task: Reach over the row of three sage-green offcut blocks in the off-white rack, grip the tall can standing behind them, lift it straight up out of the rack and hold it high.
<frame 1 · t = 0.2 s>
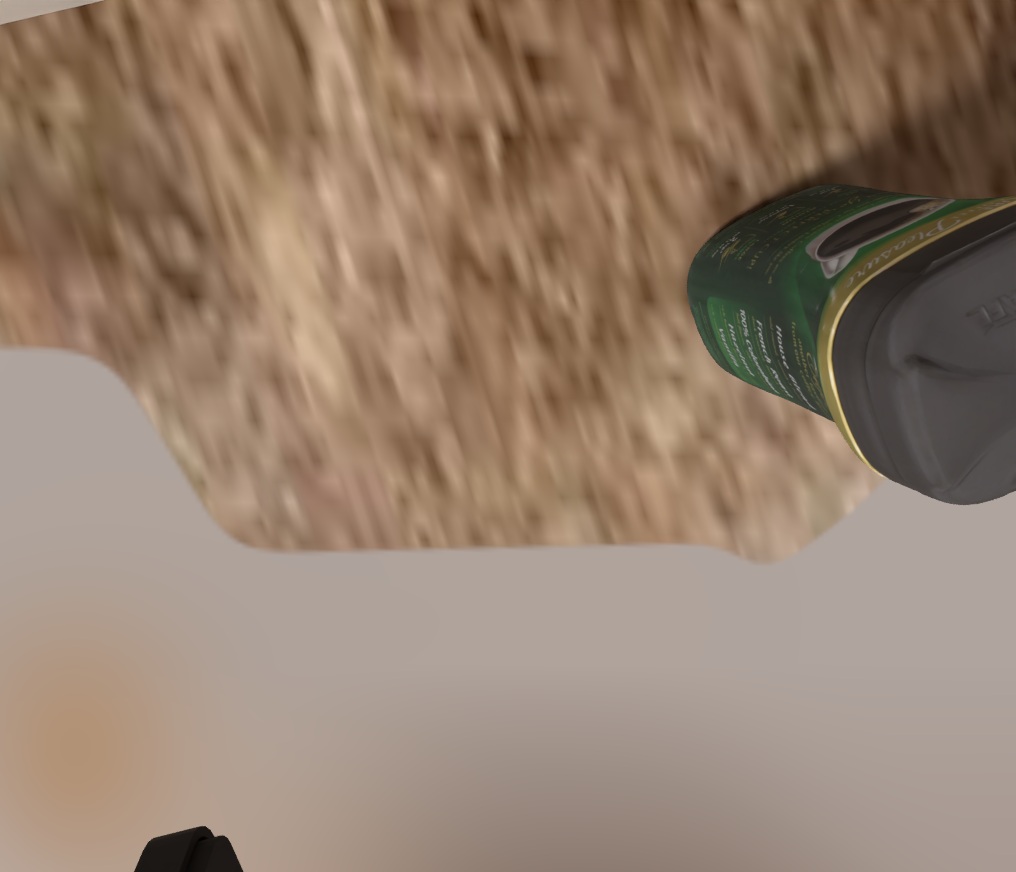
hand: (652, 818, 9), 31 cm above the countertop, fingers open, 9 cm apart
coffee jar: (781, 281, 39), on the countertop
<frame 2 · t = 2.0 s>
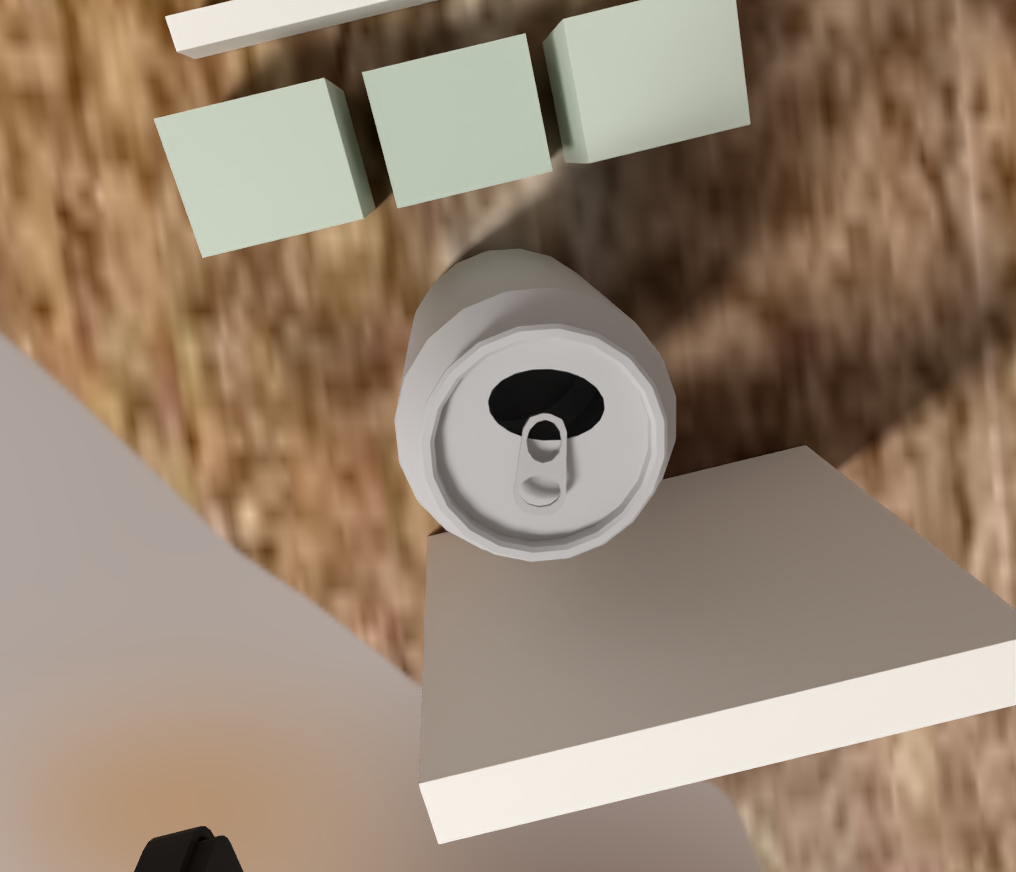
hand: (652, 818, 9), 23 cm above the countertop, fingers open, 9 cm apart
offcut 1: (623, 87, 28), on the countertop
offcut mid: (457, 127, 29), on the countertop
can: (507, 344, 31), on the countertop
rack: (507, 345, 31), on the countertop
offcut 2: (291, 168, 28), on the countertop
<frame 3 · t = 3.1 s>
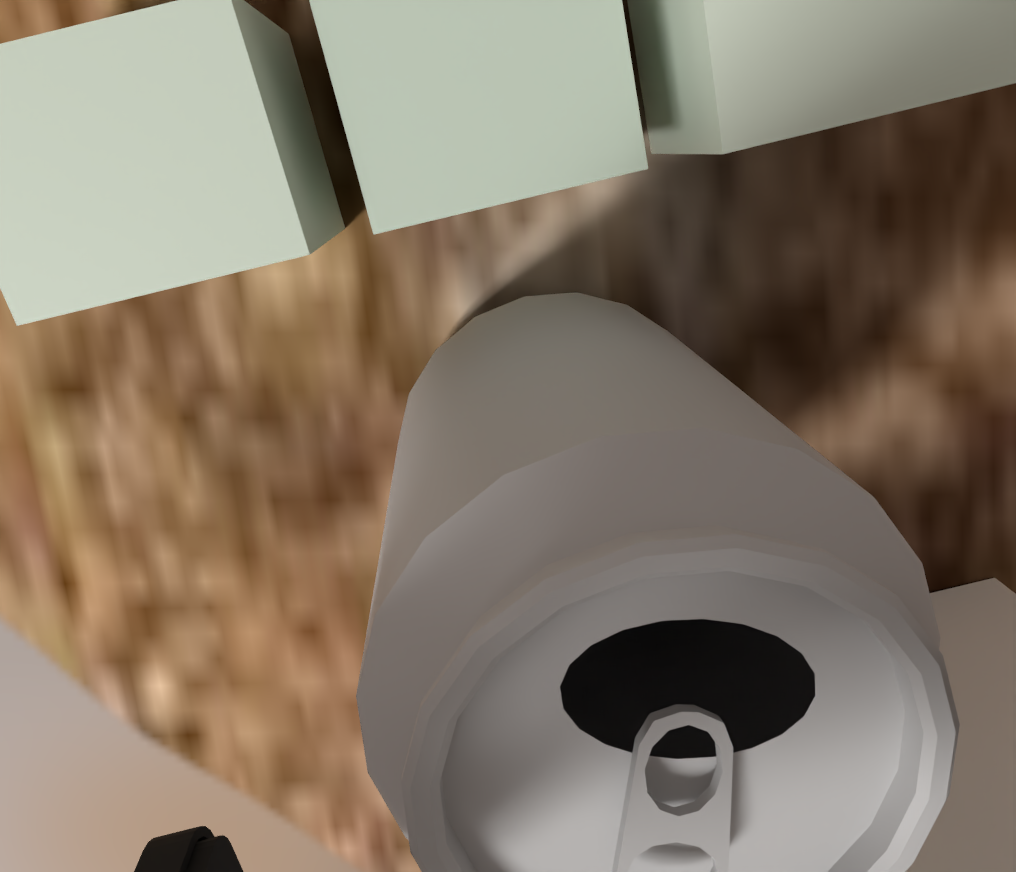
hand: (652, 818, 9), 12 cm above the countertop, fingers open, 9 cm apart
offcut 1: (749, 29, 17), on the countertop
offcut mid: (476, 96, 17), on the countertop
can: (552, 435, 20), on the countertop
rack: (553, 438, 20), on the countertop
offcut 2: (205, 162, 17), on the countertop
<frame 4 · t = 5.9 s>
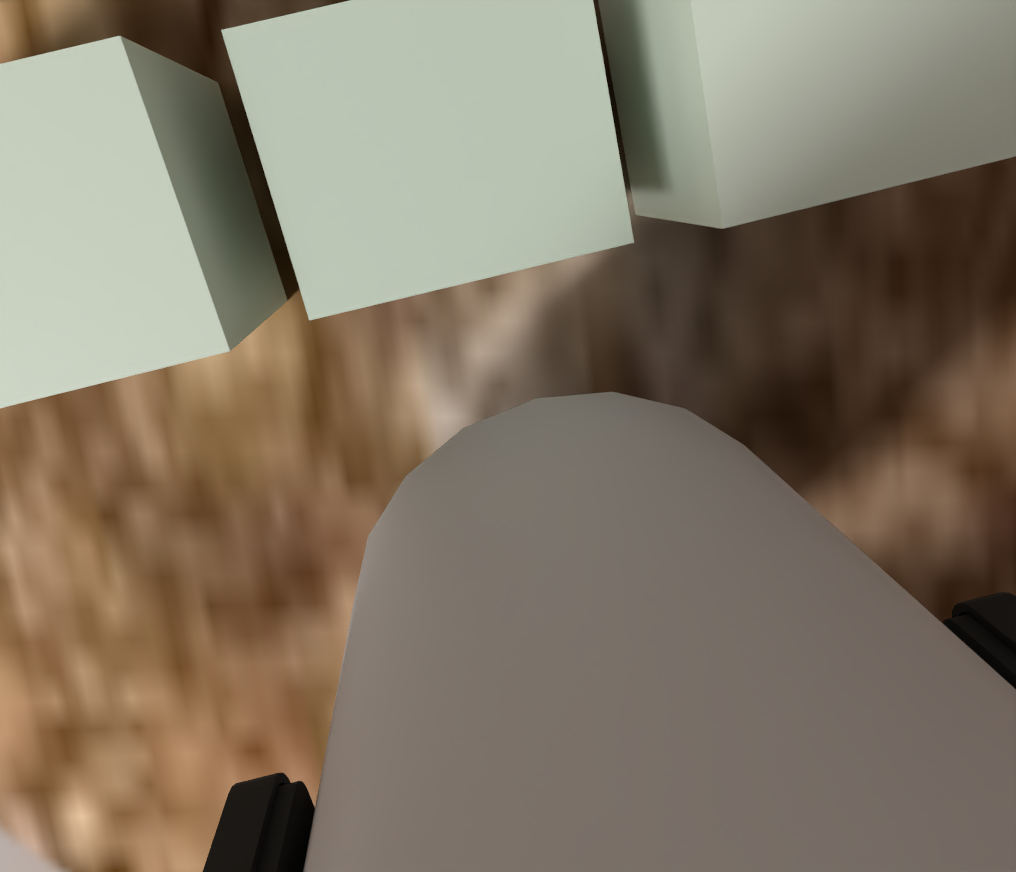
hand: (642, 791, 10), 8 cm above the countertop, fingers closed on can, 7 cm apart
offcut 1: (743, 77, 15), on the countertop
offcut mid: (436, 151, 15), on the countertop
can: (572, 578, 14), point 3 cm above the countertop, touching gripper
offcut 2: (124, 227, 15), on the countertop
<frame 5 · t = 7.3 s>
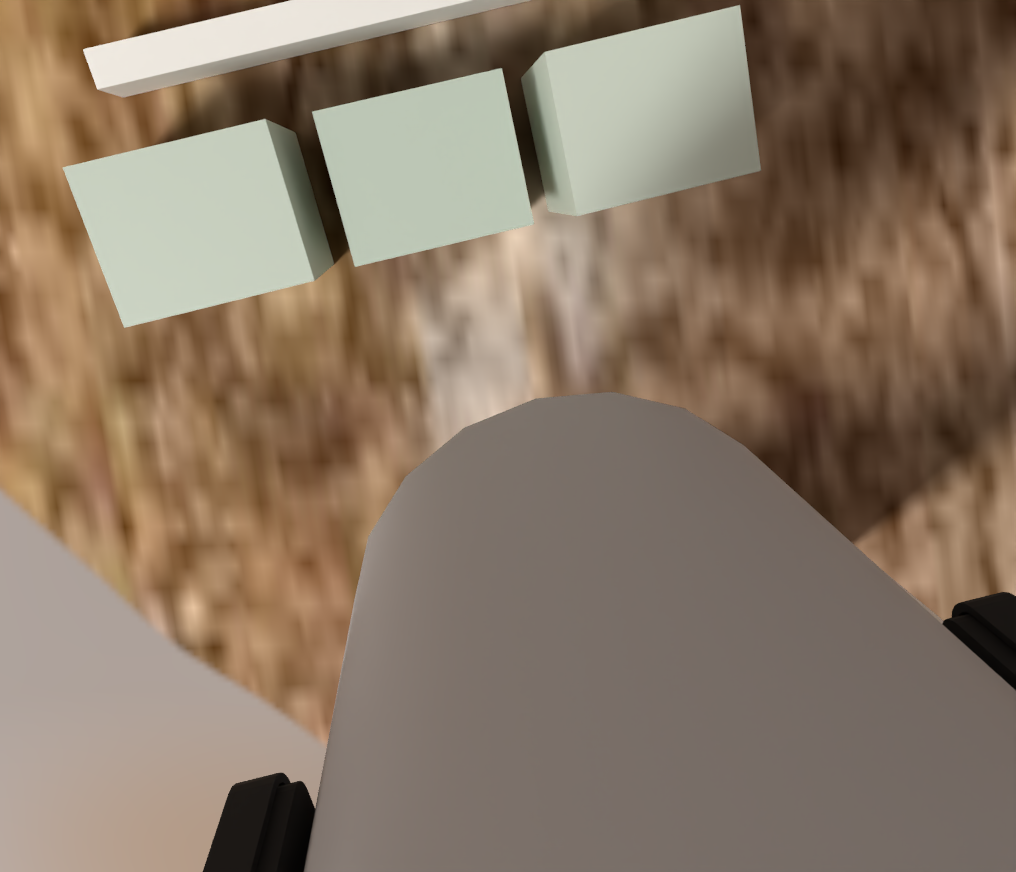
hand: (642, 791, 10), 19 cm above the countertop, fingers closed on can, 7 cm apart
offcut 1: (611, 127, 25), on the countertop
offcut mid: (425, 173, 25), on the countertop
can: (572, 578, 14), point 14 cm above the countertop, touching gripper
rack: (486, 414, 28), on the countertop
offcut 2: (236, 219, 25), on the countertop
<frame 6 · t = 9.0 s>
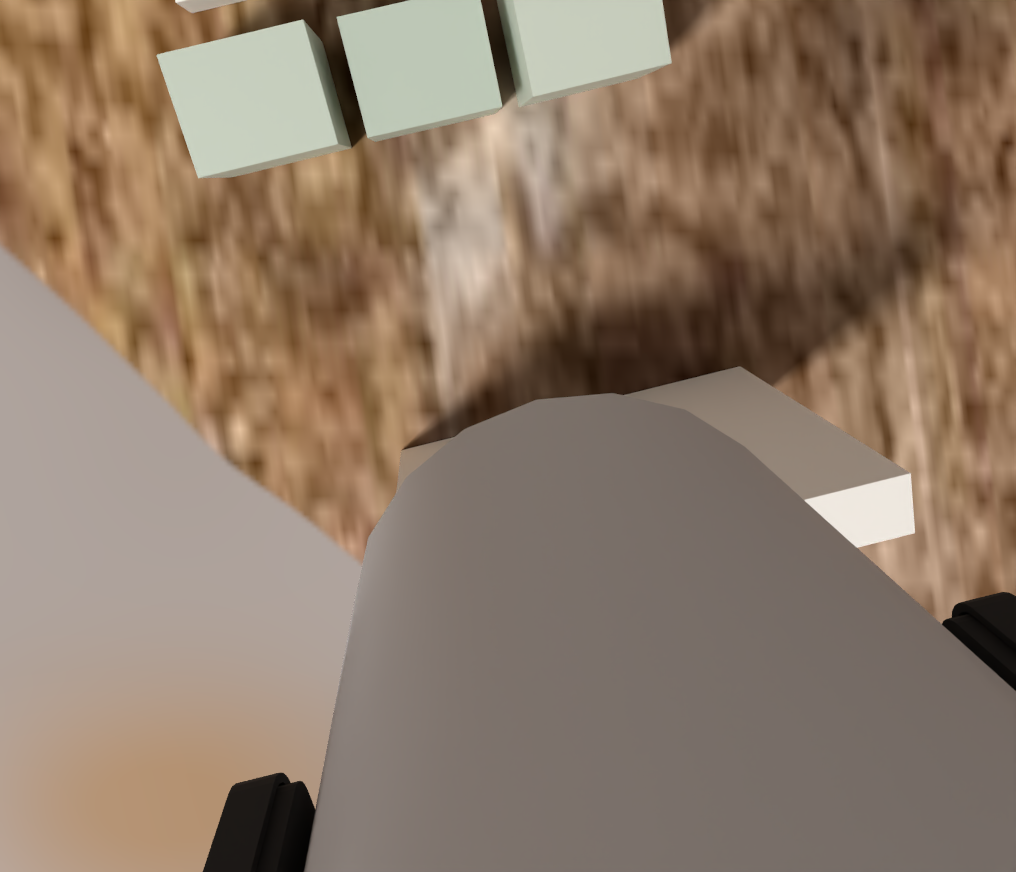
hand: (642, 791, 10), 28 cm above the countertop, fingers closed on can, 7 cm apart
offcut 1: (568, 40, 32), on the countertop
offcut mid: (422, 75, 32), on the countertop
can: (572, 579, 14), point 22 cm above the countertop, touching gripper
rack: (470, 273, 35), on the countertop
offcut 2: (276, 111, 32), on the countertop
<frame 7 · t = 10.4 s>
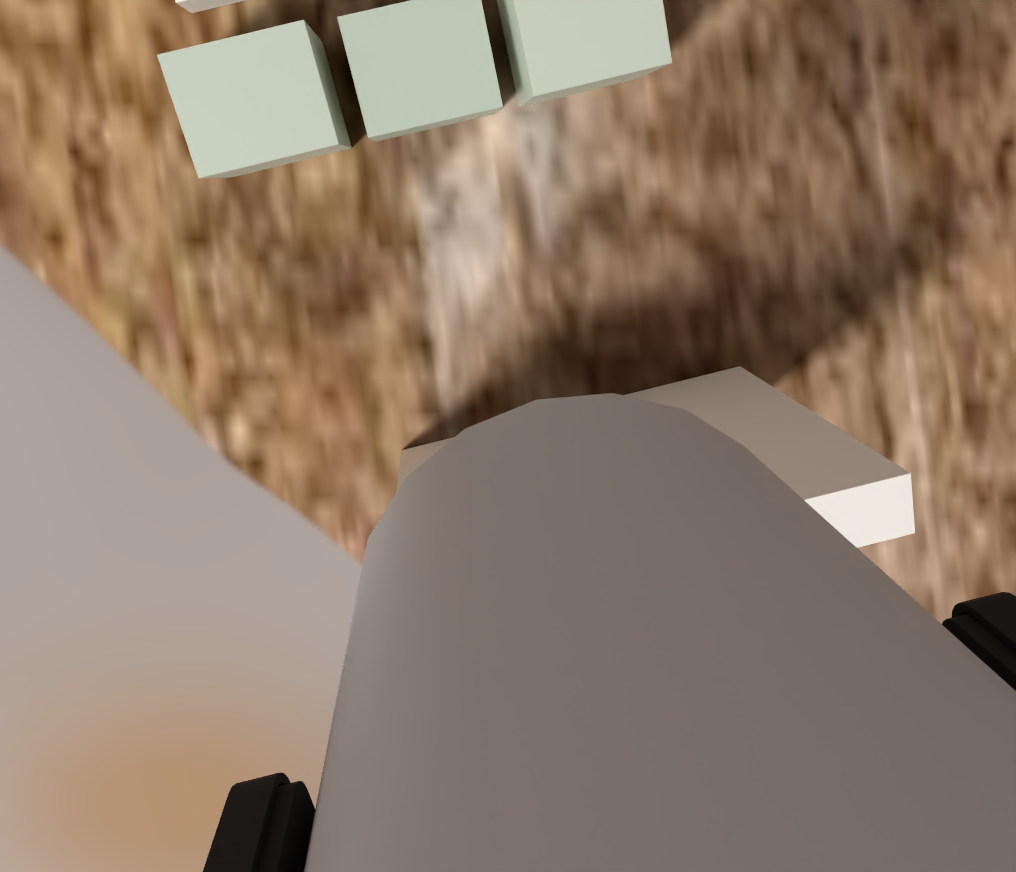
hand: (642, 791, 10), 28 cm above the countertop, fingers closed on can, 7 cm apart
offcut 1: (568, 40, 32), on the countertop
offcut mid: (422, 75, 32), on the countertop
can: (572, 579, 14), point 22 cm above the countertop, touching gripper
rack: (470, 273, 35), on the countertop
offcut 2: (276, 111, 32), on the countertop
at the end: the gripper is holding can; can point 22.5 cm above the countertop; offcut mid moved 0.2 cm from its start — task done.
